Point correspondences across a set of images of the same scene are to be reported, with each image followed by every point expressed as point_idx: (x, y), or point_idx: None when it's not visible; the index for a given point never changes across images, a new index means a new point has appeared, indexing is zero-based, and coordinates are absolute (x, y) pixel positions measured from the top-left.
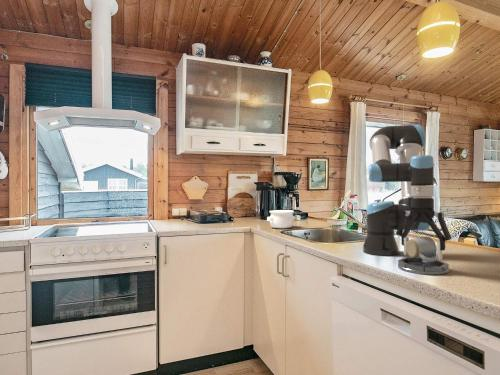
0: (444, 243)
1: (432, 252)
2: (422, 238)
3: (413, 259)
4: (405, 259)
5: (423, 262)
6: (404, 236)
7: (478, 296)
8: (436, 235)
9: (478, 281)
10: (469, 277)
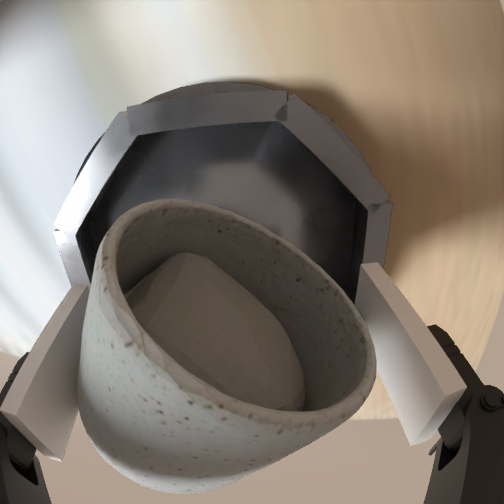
0: (466, 384)
1: (323, 338)
2: (227, 476)
3: (102, 191)
4: (87, 266)
5: (169, 139)
6: (31, 456)
7: None
8: (424, 501)
9: (476, 276)
10: (458, 241)
